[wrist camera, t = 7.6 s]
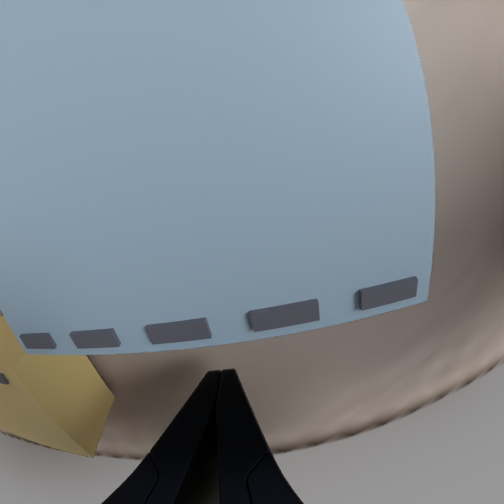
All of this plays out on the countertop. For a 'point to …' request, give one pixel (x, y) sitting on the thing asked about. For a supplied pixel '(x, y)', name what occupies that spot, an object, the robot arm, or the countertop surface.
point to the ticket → (209, 170)
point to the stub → (51, 397)
